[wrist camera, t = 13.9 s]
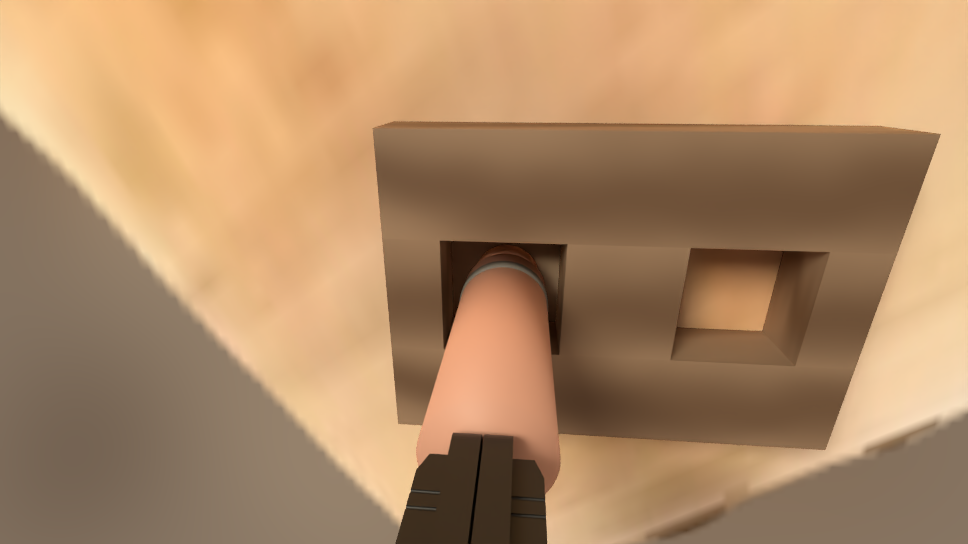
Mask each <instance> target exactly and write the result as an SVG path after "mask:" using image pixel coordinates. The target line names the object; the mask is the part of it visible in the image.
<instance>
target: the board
mask: <svg viewBox="0 0 968 544" xmlns="http://www.w3.org/2000/svg"><path fill="white" fill-rule="evenodd" d="M940 135H941V134H936V133H928V132H921V131H913V130H905V129H898V128H890V127H882V126H812V125H705V124H599V123H492V122H391V123H388V124H384V125H381V126H378V127H375V128H373V136H374V148H375V159H376V171H377V182H378V194H379V206H380V217H381V229H382V240H383V252H384V264H385V275H386V287H387V298H388V310H389V322H390V333H391V345H392V356H393V368H394V380H395V391H396V403H397V414H398V424H410V425H423V422H424V418H425V415H426V412H427V408H428V405H429V402H430V398H431V395H432V392H433V389H434V385H435V382H436V379H437V375H438V372H439V369H440V365H441V362H442V359H443V356H444V352H445V349H446V346H447V342H448V339H449V336H450V332H451V329H452V326H453V323H454V319H455V318H453V288H452V250H451V241H472V242H506V243H540V244H561V251H560V265H559V280H558V294H557V309H556V323H555V322H548V323H549V334H550V346H551V357H552V368H553V379H554V391H555V402H556V413H557V425H558V434H573V435H589V436H606V437H622V438H638V439H655V440H671V441H687V442H703V443H720V444H736V445H752V446H769V447H785V448H801V449H817V450H825V449H826V447H827V444H828V441H829V438H830V436H831V433H832V430H833V427H834V425H835V422H836V419H837V416H838V414H839V411H840V408H841V405H842V403H843V400H844V397H845V395H846V392H847V389H848V386H849V384H850V381H851V378H852V375H853V373H854V370H855V367H856V364H857V362H858V359H859V356H860V354H861V351H862V348H863V345H864V343H865V340H866V337H867V334H868V332H869V329H870V326H871V323H872V321H873V318H874V315H875V312H876V310H877V307H878V304H879V302H880V299H881V296H882V293H883V291H884V288H885V285H886V282H887V280H888V277H889V274H890V271H891V269H892V266H893V263H894V261H895V258H896V255H897V252H898V250H899V247H900V244H901V241H902V239H903V236H904V233H905V230H906V228H907V225H908V222H909V219H910V217H911V214H912V211H913V209H914V206H915V203H916V200H917V198H918V195H919V192H920V189H921V187H922V184H923V181H924V178H925V176H926V173H927V170H928V168H929V165H930V162H931V159H932V157H933V154H934V151H935V148H936V146H937V143H938V140H939V137H940ZM691 248H708V249H742V250H776V251H784V252H783V256H782V260H781V264H780V267H779V271H778V275H777V279H776V282H775V286H774V290H773V294H772V298H771V301H770V305H769V309H768V313H767V316H766V320H765V324H764V328H763V331H741V330H718V329H695V328H676V327H677V321H678V316H679V310H680V305H681V299H682V294H683V288H684V283H685V278H686V272H687V267H688V261H689V256H690V250H691Z"/></svg>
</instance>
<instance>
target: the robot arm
mask: <svg viewBox="0 0 968 544" xmlns="http://www.w3.org/2000/svg"><path fill="white" fill-rule="evenodd" d="M396 544H547V529H546V506H545V484H544V477H543V475H542V473H541V471H540V469H539V467H538V466H537V464H536V462H535V460H524V459H513V436H505V435H489V434H484V440H483V437H482V434H470V433H454V432H453V434H452V437H451V442H450V447H449V451H448V455H445V454H429V455H428V456H427V457H426V459H425V460H424V461H423V462H422V463H421V465H420V466H419V467H418V468H417V470H416V473H415V477H414V480H413V484H412V487H411V493H410V494H409V498H408V501H407V505H406V509H405V512H404V515H403V519H402V522H401V526H400V530H399V533H398V537H397V540H396Z"/></svg>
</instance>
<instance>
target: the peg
mask: <svg viewBox="0 0 968 544" xmlns="http://www.w3.org/2000/svg"><path fill="white" fill-rule="evenodd" d="M453 432H454V433H470V434H482V437H483V440H484V434H489V435H505V436H513V459H524V460H535V462H536V464H537V466H538V467H539V469H540V471H541V473H542V475H543V477H544V484H545V494H546V493H547V492H548V491H549V489H550V488H551V487H552V486H553V484H554V482H555V480H556V479H557V476H558V473H559V469H560V447H559V436H558V425H557V413H556V402H555V391H554V379H553V368H552V357H551V346H550V334H549V323H548V298H547V292H546V289H545V283H544V280H543V277H542V275H541V273H540V272H539V270H538V269H537V266H536V263H535V261H534V259H533V258H532V257H531V256H530V254H529V253H527V252H526V251H525V250H523V249H521V248H519V247H516V246H512V245H501V246H497V247H494V248H492V249H490V250H488V251H487V252H486V253H485V254H484V255H483V256H482V257H481V258H480V260H479V262H478V263H477V264H476V265H475V266H474V267H473V268H472V270H471V271H470V273H469V275H468V277H467V280H466V282H465V284H464V286H463V289H462V292H461V295H460V300H459V306H458V309H457V313H456V316H455V319H454V323H453V326H452V329H451V332H450V336H449V339H448V342H447V346H446V349H445V352H444V356H443V359H442V362H441V365H440V369H439V372H438V375H437V379H436V382H435V385H434V389H433V392H432V395H431V398H430V402H429V405H428V408H427V412H426V415H425V418H424V422H423V425H422V428H421V431H420V435H419V438H418V442H417V447H416V456H417V462H418V465H419V466H420V465H421V463H422V462H423V461H424V460H425V459H426V457H427V456H428V455H429V454H445V455H448V451H449V447H450V442H451V437H452V434H453Z"/></svg>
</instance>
